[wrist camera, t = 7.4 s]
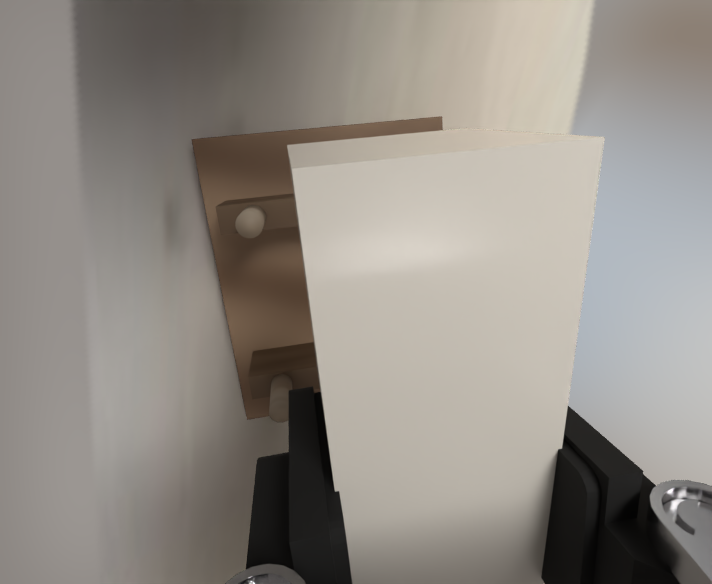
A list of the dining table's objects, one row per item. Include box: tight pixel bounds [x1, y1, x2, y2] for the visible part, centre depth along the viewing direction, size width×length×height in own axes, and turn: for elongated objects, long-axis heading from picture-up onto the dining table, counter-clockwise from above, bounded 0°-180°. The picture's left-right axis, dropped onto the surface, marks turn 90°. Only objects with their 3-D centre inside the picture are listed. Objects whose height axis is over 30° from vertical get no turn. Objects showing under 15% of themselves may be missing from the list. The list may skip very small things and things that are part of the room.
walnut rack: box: [192, 117, 442, 422], centre depth 21 cm, size 15×12×7 cm
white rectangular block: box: [287, 128, 605, 584], centre depth 9 cm, size 12×4×4 cm, turn 6°
